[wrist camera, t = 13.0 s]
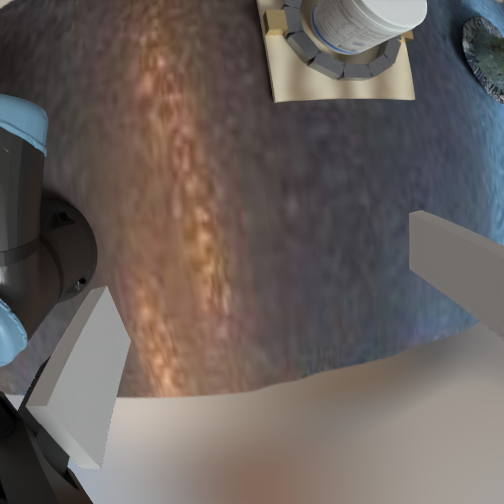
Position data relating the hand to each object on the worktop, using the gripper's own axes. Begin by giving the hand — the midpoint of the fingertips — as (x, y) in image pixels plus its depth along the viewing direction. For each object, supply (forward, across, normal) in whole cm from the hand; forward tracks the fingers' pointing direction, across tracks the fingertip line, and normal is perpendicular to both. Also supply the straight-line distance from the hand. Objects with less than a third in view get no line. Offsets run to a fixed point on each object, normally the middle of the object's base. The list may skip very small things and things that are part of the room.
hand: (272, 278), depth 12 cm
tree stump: (+29, +54, +17) cm, 64 cm away
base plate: (+30, +20, +20) cm, 41 cm away
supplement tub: (+29, +20, +20) cm, 41 cm away
